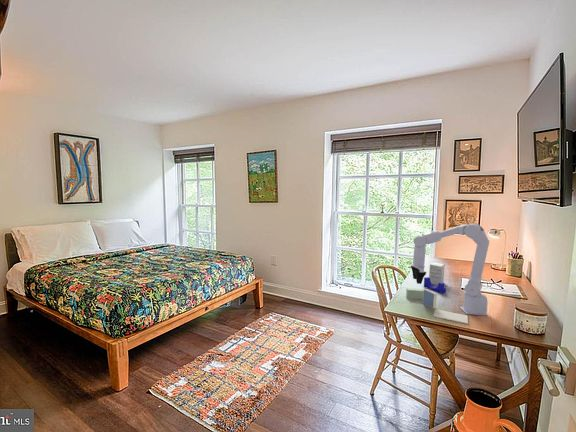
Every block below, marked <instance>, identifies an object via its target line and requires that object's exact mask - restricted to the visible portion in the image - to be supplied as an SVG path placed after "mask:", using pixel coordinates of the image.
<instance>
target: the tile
mask: <svg viewBox="0 0 576 432" xmlns="http://www.w3.org/2000/svg"><path fill="white" fill-rule="evenodd" d="M423 289H424V292H423V299H422V304H423V305H424V306H427V307H429V308H431V309H433V310H435V309H437V296H438V292H435V291H433V290H431V289H428V288H423Z"/></svg>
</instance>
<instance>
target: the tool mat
mask: <svg viewBox="0 0 576 432" xmlns="http://www.w3.org/2000/svg"><path fill="white" fill-rule="evenodd" d="M433 318H437V319H442V320H445V321H447V320H448V321H451V322H456V323H459V324H461V323H462V324H465V325H466V324H467V325H469V317H468V314H462V313H457V312H456V313H455V312H452V311H446V310H441V309H437V308H435V309H434V312H433Z"/></svg>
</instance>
